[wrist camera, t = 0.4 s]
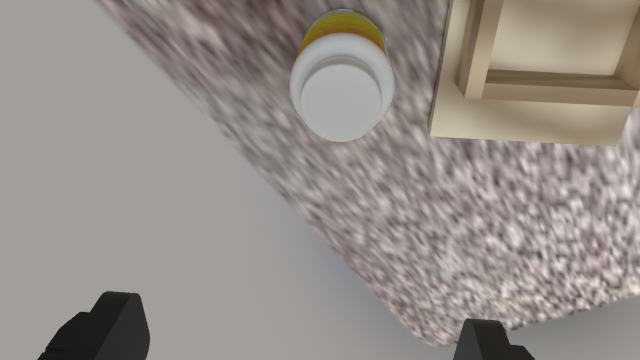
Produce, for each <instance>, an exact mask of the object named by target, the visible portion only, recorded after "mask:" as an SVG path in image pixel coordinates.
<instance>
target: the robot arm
mask: <svg viewBox="0 0 640 360" xmlns="http://www.w3.org/2000/svg"><path fill="white" fill-rule="evenodd" d="M149 344H150V334H149V329H148V325H147V321H146V317H145V313H144V309H143V305H142V301H141V297H140V295H139V294H137V293H126V292H112V291H107V292H105V293H103V294H102V295H101V296H100V298H99V299H98V301H97V302H96V304H95V305H94V307H93V308H92V310H91V311H90V312H79V313H78V314H77V315H75V317H73V318H72V319H71V320H69V321H68V322H67V323H66V324H64V325H63V326H62V327H61V328H60V329H59V330H58V331H57V333H56V334H55V336H54V337H53V338H52V340H51V341H50V343H49V344H48V346H47V347H46V348H45V349H46V350H45V352H44V353H42V354H41V355H40V357H39V358H38V360H145V359H146V357H147V354H148V350H149ZM453 360H535V359H534V358H533V357H532V356H531V354H530V353H529V352H528V351H527V350H526V348H525V347H524V346H519V345H510V343H509V341H508V338H507V335H506V333H505V330H504V327H503V325H502V323H501V322H500V321H497V320H484V319H470V318H467V319H466V320H465V322H464V324H463V328H462V331H461V334H460V338H459V341H458V344H457V348H456V351H455V354H454V358H453Z"/></svg>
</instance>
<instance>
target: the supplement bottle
mask: <svg viewBox="0 0 640 360" xmlns="http://www.w3.org/2000/svg"><path fill="white" fill-rule="evenodd" d="M394 90H395V80H394V72H393V69H392V65H391V62H390V58H389V54H388V51H387V47H386V44H385V41H384V37H383V35H382V33H381V31H380V29H379V27H378V26H377V24H376V23H375V22H374V21H373V20H372V19H371V18H370V17H368V16H367V15H365V14H363V13H362V12H359V11H356V10H353V9H336V10H332V11H329V12H327V13H325V14H323V15H322V16H320V17H319V18H318V19H316V20H315V21H314V22H313V23H312V25H311V26H310V27H309V29H308V31H307V32H306V34H305V36H304V39H303V42H302V44H301V47H300V49H299V52H298V55H297V57H296V60H295V62H294V65H293V68H292V71H291V76H290V95H291V100H292V103H293V105H294V108H295V109H296V111H297V113H298V114H299V116H300V117H301V118H302V119H303V120H304V121H305V123H306V124H307V126H308V127H309V128H310V129H311V130H312V131H313V132H314V133H315V134H317V135H318V136H320V137H322V138H324V139H326V140H330V141H335V142H347V141H352V140H355V139H358V138H360V137H362V136H363V135H365V134H366V133H367V132H369V131H370V130H371V129H372V128H373V126H375V125H376V124H377V123H378V122H379V121H380V120H381V119H382V118H383V117H384V115H385V114H386V112H387V111H388V109H389V107H390V105H391V102H392V100H393V96H394Z"/></svg>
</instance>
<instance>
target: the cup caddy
mask: <svg viewBox="0 0 640 360" xmlns="http://www.w3.org/2000/svg"><path fill="white" fill-rule="evenodd" d="M632 107H640V0H450V3H449V9H448V15H447V21H446V27H445V32H444V38H443V44H442V50H441V56H440V62H439V67H438V73H437V79H436V85H435V91H434V96H433V102H432V108H431V114H430V120H429V126H428V133H429V136H434V137H452V138H470V139H489V140H507V141H526V142H544V143H562V144H581V145H599V146H616V144H617V142H618V139H619V137H620V135H621V132H622V130H623V127H624V125H625V123H626V120H627V118H628V115H629V113H630V111H631V108H632Z"/></svg>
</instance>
